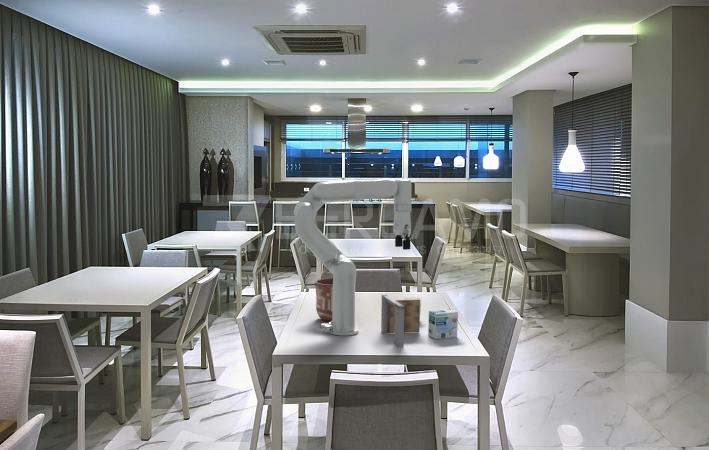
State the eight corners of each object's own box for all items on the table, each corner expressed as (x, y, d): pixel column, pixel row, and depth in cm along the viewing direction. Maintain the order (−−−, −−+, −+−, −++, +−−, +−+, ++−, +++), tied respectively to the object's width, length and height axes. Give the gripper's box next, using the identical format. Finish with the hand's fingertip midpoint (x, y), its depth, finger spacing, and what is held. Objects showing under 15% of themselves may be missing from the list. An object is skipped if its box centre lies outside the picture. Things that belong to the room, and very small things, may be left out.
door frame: (398, 346, 238) (399, 306, 237) (381, 331, 261) (381, 294, 260) (403, 346, 239) (404, 306, 238) (385, 331, 262) (386, 294, 260)
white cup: (406, 322, 277) (406, 301, 277) (401, 318, 285) (402, 297, 284) (423, 322, 279) (423, 300, 278) (418, 318, 287) (418, 297, 286)
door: (387, 333, 257) (388, 300, 256) (387, 332, 258) (387, 300, 257) (419, 332, 259) (420, 299, 258) (418, 331, 260) (419, 299, 259)
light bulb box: (435, 339, 250) (436, 313, 249) (427, 335, 256) (428, 310, 255) (458, 337, 254) (458, 311, 253) (449, 333, 260) (450, 308, 259)
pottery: (329, 313, 294) (328, 276, 293) (360, 318, 285) (360, 279, 284) (307, 321, 279) (307, 282, 277) (340, 326, 270) (340, 286, 268)
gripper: (387, 207, 268) (387, 246, 269) (401, 209, 251) (401, 250, 252) (403, 206, 269) (404, 245, 271) (418, 209, 253) (418, 250, 254)
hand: (402, 248), depth 262 cm, fingers open, 9 cm apart
